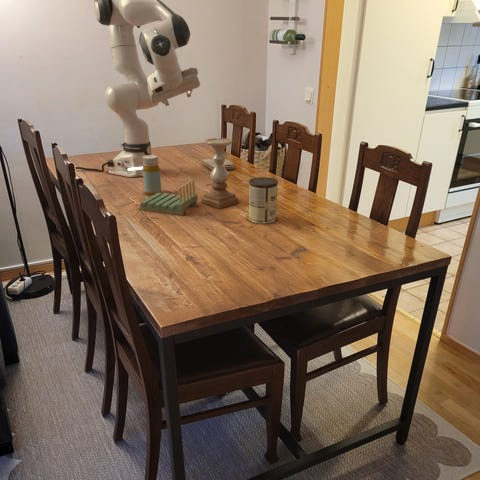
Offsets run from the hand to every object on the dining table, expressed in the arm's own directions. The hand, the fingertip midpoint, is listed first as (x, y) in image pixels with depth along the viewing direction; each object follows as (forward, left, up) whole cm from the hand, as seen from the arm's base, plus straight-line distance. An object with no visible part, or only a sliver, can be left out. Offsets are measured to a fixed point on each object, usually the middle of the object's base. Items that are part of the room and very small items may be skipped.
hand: (178, 100), depth 192 cm
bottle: (-8, -12, -35) cm, 38 cm away
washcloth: (0, +40, -36) cm, 54 cm away
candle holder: (+23, -13, -35) cm, 44 cm away
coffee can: (+45, -25, -36) cm, 63 cm away
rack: (+7, -26, -35) cm, 44 cm away
